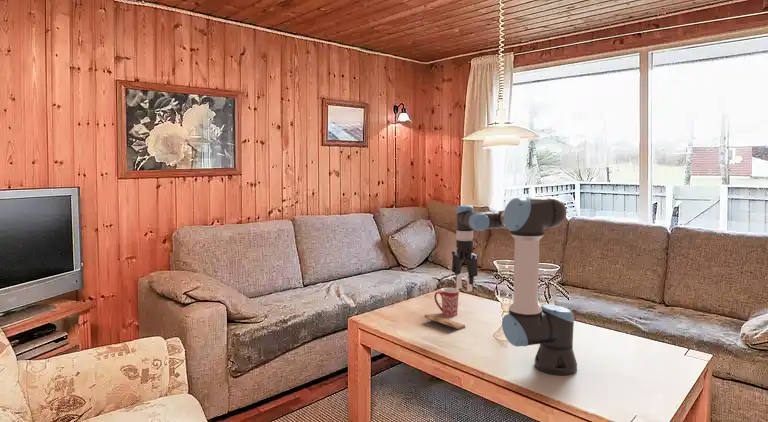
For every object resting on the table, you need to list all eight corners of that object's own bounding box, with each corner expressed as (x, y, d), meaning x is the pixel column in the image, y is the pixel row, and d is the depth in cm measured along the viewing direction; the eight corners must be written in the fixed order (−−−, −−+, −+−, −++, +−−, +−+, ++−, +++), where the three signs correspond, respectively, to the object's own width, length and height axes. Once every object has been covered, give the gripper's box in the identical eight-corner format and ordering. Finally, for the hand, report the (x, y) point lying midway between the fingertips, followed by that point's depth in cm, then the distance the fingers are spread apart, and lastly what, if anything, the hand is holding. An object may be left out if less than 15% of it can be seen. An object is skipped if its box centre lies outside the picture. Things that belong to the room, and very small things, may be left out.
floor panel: (466, 329, 229) (466, 325, 229) (450, 335, 222) (450, 330, 222) (437, 320, 243) (437, 315, 243) (421, 325, 236) (421, 320, 236)
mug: (461, 314, 251) (461, 288, 250) (455, 320, 243) (455, 293, 242) (437, 311, 257) (438, 286, 256) (431, 316, 249) (431, 290, 247)
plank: (459, 329, 227) (459, 327, 227) (451, 326, 223) (452, 323, 223) (432, 320, 240) (432, 318, 240) (424, 317, 236) (425, 314, 236)
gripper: (486, 241, 221) (485, 292, 223) (454, 236, 235) (454, 284, 237) (475, 243, 216) (475, 295, 218) (443, 238, 230) (443, 287, 233)
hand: (464, 289), depth 228 cm, fingers open, 6 cm apart
